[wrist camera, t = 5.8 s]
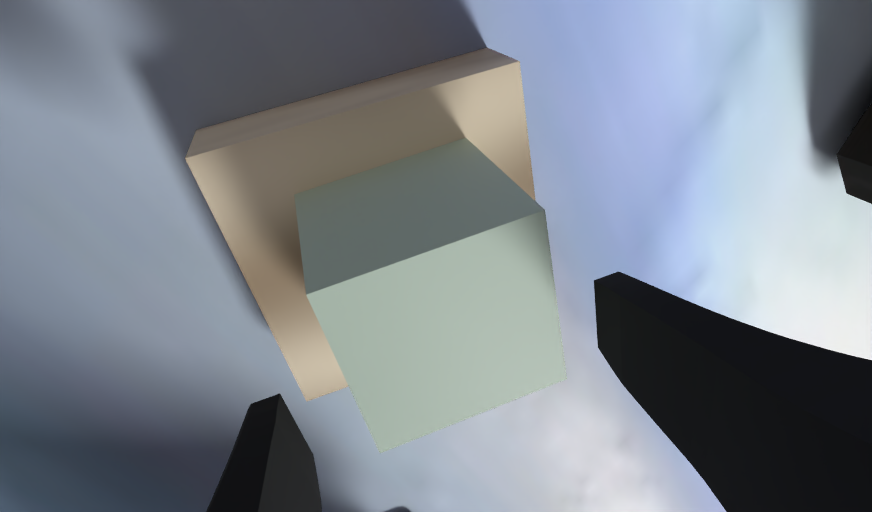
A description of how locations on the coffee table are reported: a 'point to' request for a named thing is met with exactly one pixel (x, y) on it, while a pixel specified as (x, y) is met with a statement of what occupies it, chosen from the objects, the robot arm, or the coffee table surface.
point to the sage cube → (432, 289)
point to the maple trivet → (344, 173)
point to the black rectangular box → (858, 159)
